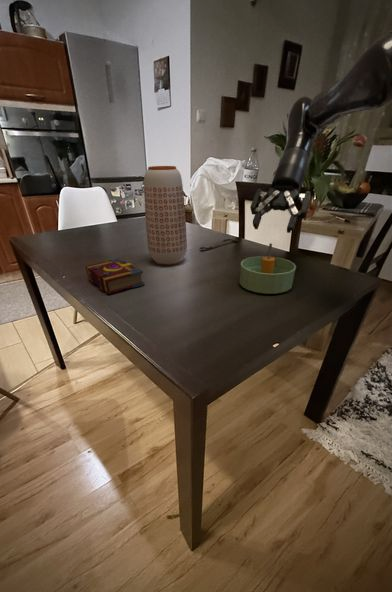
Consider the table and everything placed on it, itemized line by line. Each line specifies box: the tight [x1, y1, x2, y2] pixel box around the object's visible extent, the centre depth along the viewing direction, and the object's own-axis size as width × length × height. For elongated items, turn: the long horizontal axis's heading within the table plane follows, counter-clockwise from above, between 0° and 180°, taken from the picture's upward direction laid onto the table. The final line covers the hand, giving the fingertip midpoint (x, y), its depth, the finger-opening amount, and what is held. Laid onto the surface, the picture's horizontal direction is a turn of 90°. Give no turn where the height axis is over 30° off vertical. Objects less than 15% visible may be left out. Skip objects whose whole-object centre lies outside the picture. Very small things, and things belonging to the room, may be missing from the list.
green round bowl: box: [238, 255, 297, 295], centre depth 80 cm, size 15×15×6 cm
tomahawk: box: [199, 238, 239, 250], centre depth 115 cm, size 21×7×1 cm, turn 132°
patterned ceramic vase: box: [143, 165, 188, 267], centre depth 91 cm, size 13×13×28 cm
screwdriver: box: [261, 242, 275, 274], centre depth 79 cm, size 3×3×11 cm
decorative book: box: [85, 257, 145, 295], centre depth 83 cm, size 11×16×5 cm
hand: (271, 229), depth 72 cm, fingers open, 8 cm apart
